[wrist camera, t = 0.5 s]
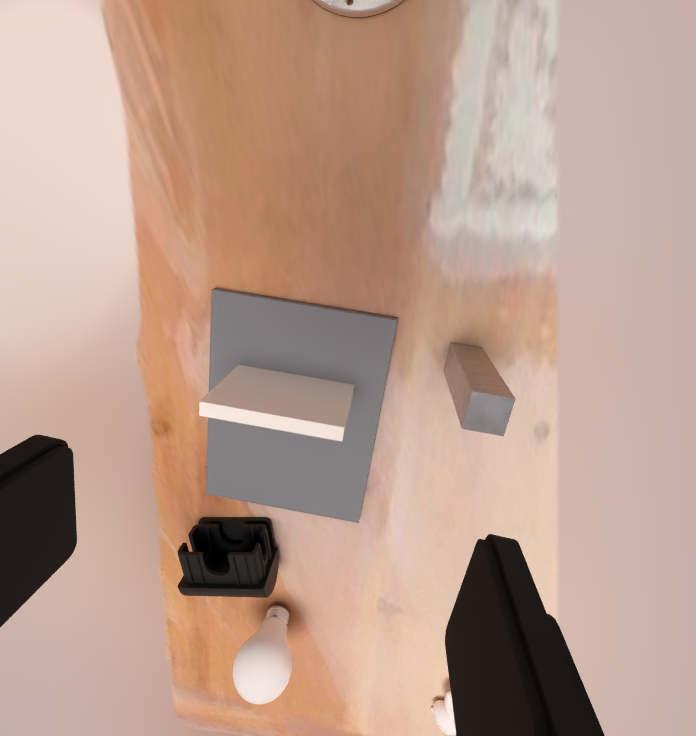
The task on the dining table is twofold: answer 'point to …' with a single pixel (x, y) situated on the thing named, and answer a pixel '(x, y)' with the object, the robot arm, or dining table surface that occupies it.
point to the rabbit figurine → (444, 714)
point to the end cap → (230, 558)
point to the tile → (281, 402)
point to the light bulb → (264, 660)
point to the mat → (306, 358)
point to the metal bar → (477, 390)
